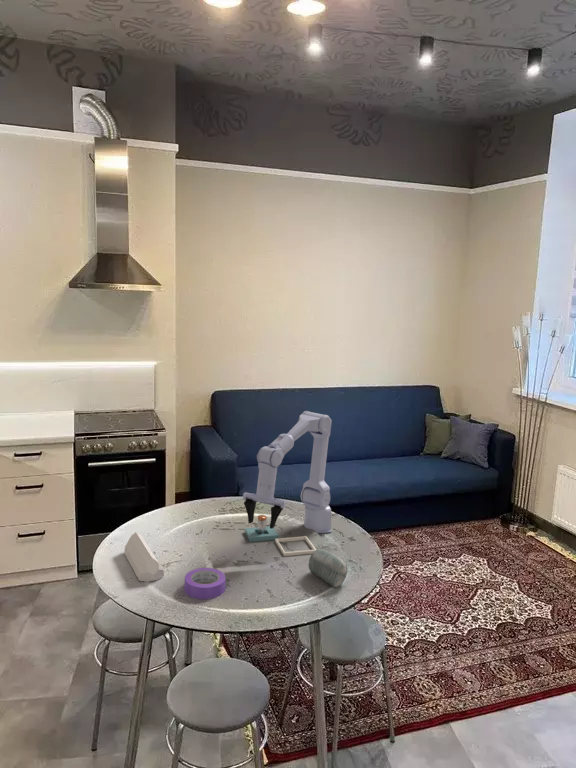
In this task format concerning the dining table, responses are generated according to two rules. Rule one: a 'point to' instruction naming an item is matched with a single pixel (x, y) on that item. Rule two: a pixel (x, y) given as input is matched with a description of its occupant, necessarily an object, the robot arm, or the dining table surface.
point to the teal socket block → (269, 535)
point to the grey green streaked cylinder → (328, 567)
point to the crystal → (142, 559)
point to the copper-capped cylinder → (261, 524)
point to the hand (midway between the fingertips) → (261, 525)
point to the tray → (295, 551)
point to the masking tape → (204, 590)
